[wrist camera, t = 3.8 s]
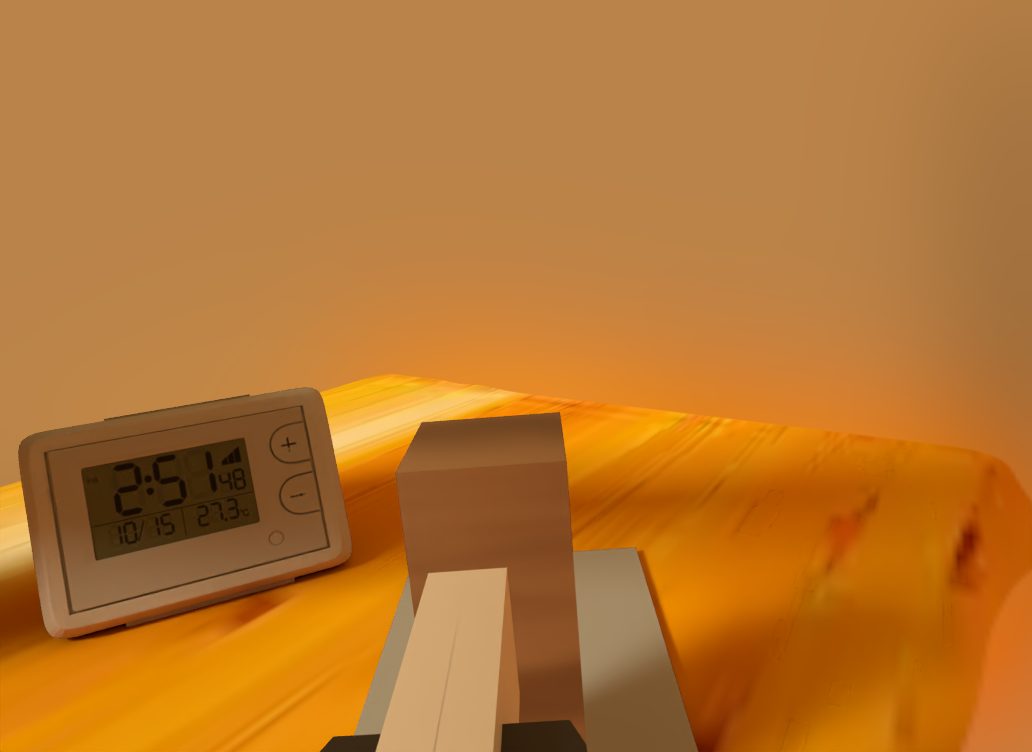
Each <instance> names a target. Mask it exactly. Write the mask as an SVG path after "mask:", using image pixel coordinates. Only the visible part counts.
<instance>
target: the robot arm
mask: <svg viewBox="0 0 1032 752" xmlns="http://www.w3.org/2000/svg"><path fill="white" fill-rule="evenodd" d="M519 703H520V691H519V681H518V671H517V662H516V652H515V642H514V632H513V622H512V613H511V603H510V593H509V583H508V573H507V568H494V569H480V570H466V571H452V572H438V573H428V576H427V579H426V583H425V586H424V590H423V593H422V596H421V600H420V603H419V607H418V610H417V613H416V617H415V620H414V623H413V627H412V630H411V634H410V637H409V640H408V644H407V647H406V651H405V654H404V657H403V661H402V664H401V667H400V671H399V674H398V678H397V681H396V684H395V688H394V691H393V695H392V698H391V701H390V705H389V708H388V711H387V715H386V718H385V722H384V725H383V728H382V732H381V734H370V735H354V736H337V737H333V738H332V739H331V740H330V741H329V742H328V743H327V744H326V746H325V747H324V748H323V749H322V750H321V751H320V752H587V745H586V743H585V742H584V740H583V739H582V737H581V736H580V734H579V733H578V731H577V730H576V728H575V727H574V725H573V724H572V722H571V721H570V720H557V721H541V722H525V723H519Z"/></svg>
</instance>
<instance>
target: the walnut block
mask: <svg viewBox="0 0 1032 752" xmlns="http://www.w3.org/2000/svg"><path fill="white" fill-rule="evenodd" d="M396 481H397V488H398V496H399V504H400V511H401V519H402V527H403V534H404V542H405V550H406V557H407V565H408V573H409V580H410V588H411V596H412V603H413V611H414V619H415V617H416V613H417V610H418V607H419V603H420V600H421V596H422V593H423V590H424V586H425V583H426V579H427V576H428V573H438V572H452V571H466V570H480V569H494V568H507V573H508V583H509V593H510V603H511V613H512V622H513V632H514V642H515V652H516V662H517V671H518V681H519V691H520V703H519V723H525V722H541V721H557V720H570V721H571V722H572V724H573V725H574V727H575V728H576V730H577V731H578V733H579V734H580V736H581V737H582V739H583V740H584V742H585V743H586V730H585V716H584V701H583V687H582V673H581V659H580V645H579V631H578V617H577V603H576V589H575V575H574V560H573V546H572V532H571V518H570V504H569V490H568V476H567V462H566V454H565V447H564V439H563V432H562V424H561V417H560V412H557V413H544V414H530V415H516V416H503V417H489V418H476V419H462V420H449V421H435V422H422V423H421V425H420V427H419V429H418V431H417V433H416V435H415V436H414V438H413V440H412V442H411V444H410V446H409V448H408V450H407V452H406V454H405V456H404V458H403V460H402V461H401V463H400V465H399V467H398V469H397V471H396ZM586 745H587V744H586Z"/></svg>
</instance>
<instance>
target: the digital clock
mask: <svg viewBox="0 0 1032 752" xmlns="http://www.w3.org/2000/svg"><path fill="white" fill-rule="evenodd" d="M18 454H19V467H20V475H21V482H22V488H23V495H24V501H25V508H26V514H27V520H28V527H29V533H30V540H31V546H32V553H33V559H34V565H35V572H36V578H37V585H38V591H39V598H40V604H41V611H42V616H43V621H44V625H45V628H46V630H47V631H48V633H49V634H50V635H51V636H52V637H55V638H59V639H62V638H72V637H76V636H81V635H84V634H88V633H92V632H95V631H99V630H103V629H106V628H110V627H114V626H117V625H121V624H125V623H126V628H127V627H130V626H134V625H138V624H141V623H145V622H149V621H152V620H156V619H160V618H163V617H167V616H171V615H174V614H178V613H182V612H185V611H189V610H193V609H196V608H200V607H204V606H207V605H211V604H215V603H218V602H222V601H226V600H229V599H233V598H237V597H240V596H244V595H247V594H251V593H255V592H258V591H262V590H266V589H269V588H273V587H277V586H280V585H284V584H288V583H291V582H295V579H294V577H298V576H302V575H305V574H309V573H313V572H316V571H320V570H324V569H327V568H331V567H334V566H337V565H340V564H342V563H343V562H345V561H346V560H347V559H348V558H349V557H350V555H351V553H352V541H351V534H350V529H349V524H348V519H347V514H346V509H345V504H344V499H343V494H342V489H341V484H340V479H339V474H338V469H337V464H336V459H335V454H334V449H333V444H332V439H331V434H330V429H329V424H328V419H327V415H326V411H325V406H324V403H323V399H322V397H321V395H320V393H319V392H318V391H317V390H316V389H313V388H306V387H304V388H295V389H289V390H284V391H278V392H272V393H266V394H261V395H255V396H250V395H244V396H237V397H232V398H226V399H220V400H214V401H208V402H202V403H196V404H190V405H184V406H179V407H173V408H167V409H161V410H155V411H150V412H143V413H137V414H132V415H126V416H120V417H114V418H109V419H104V421H102V422H96V423H90V424H84V425H78V426H73V427H67V428H61V429H55V430H50V431H44V432H40V433H36V434H33V435H30V436H28V437H27V438H25V439H24V440H23V441H22V442H21V444H20V445H19V451H18Z"/></svg>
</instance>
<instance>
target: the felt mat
mask: <svg viewBox="0 0 1032 752" xmlns="http://www.w3.org/2000/svg"><path fill="white" fill-rule="evenodd" d="M573 560H574V575H575V589H576V603H577V617H578V631H579V645H580V659H581V673H582V687H583V701H584V716H585V730H586V744H587V752H698V749H697V746H696V743H695V739H694V736H693V733H692V729H691V726H690V723H689V720H688V716H687V713H686V710H685V707H684V703H683V700H682V697H681V694H680V690H679V687H678V684H677V680H676V677H675V674H674V671H673V667H672V664H671V661H670V658H669V654H668V651H667V648H666V645H665V641H664V638H663V635H662V631H661V628H660V625H659V622H658V618H657V615H656V612H655V609H654V605H653V602H652V599H651V596H650V592H649V589H648V586H647V582H646V579H645V576H644V573H643V569H642V566H641V563H640V560H639V556H638V553H637V550H636V548H621V549H605V550H590V551H575V552H573ZM414 620H415V619H414V611H413V603H412V596H411V588H410V580H409V575H408V578H407V581H406V584H405V587H404V590H403V593H402V596H401V599H400V602H399V605H398V608H397V611H396V614H395V616H394V619H393V622H392V625H391V628H390V631H389V634H388V637H387V640H386V643H385V646H384V649H383V652H382V655H381V658H380V661H379V664H378V667H377V669H376V672H375V675H374V678H373V681H372V684H371V687H370V690H369V693H368V696H367V699H366V702H365V705H364V708H363V711H362V714H361V717H360V720H359V723H358V725H357V728H356V731H355V734H354V735H370V734H381V732H382V728H383V725H384V722H385V718H386V715H387V711H388V708H389V705H390V701H391V698H392V695H393V691H394V688H395V684H396V681H397V678H398V674H399V671H400V667H401V664H402V661H403V657H404V654H405V651H406V647H407V644H408V640H409V637H410V634H411V630H412V627H413V623H414Z"/></svg>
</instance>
